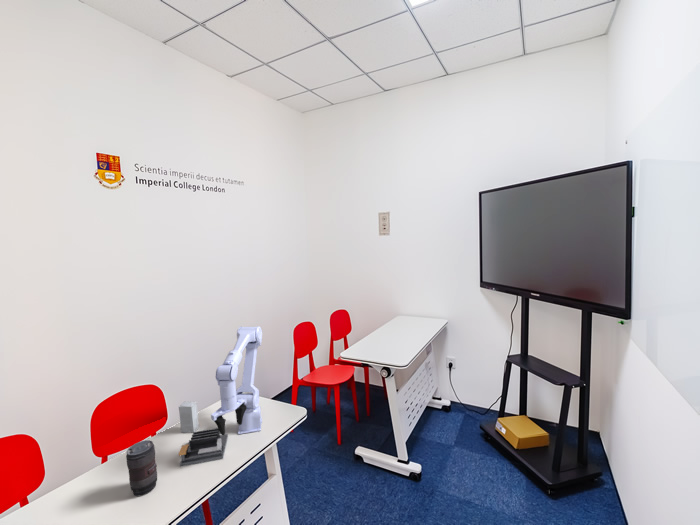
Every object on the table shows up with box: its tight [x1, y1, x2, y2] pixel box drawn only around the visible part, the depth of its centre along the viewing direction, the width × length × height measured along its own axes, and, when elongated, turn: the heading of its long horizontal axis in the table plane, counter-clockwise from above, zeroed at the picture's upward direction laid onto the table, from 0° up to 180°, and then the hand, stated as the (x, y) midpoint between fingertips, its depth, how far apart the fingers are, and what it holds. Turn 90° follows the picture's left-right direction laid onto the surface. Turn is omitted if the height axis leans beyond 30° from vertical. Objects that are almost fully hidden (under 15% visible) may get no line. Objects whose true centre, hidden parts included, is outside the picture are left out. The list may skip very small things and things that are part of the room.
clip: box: [198, 438, 222, 455], centre depth 127 cm, size 8×2×4 cm, turn 103°
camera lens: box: [125, 439, 158, 497], centre depth 111 cm, size 8×8×15 cm
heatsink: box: [178, 427, 229, 467], centre depth 130 cm, size 15×14×5 cm
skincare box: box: [178, 401, 200, 433], centre depth 144 cm, size 6×4×12 cm
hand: (231, 428), depth 128 cm, fingers open, 7 cm apart
